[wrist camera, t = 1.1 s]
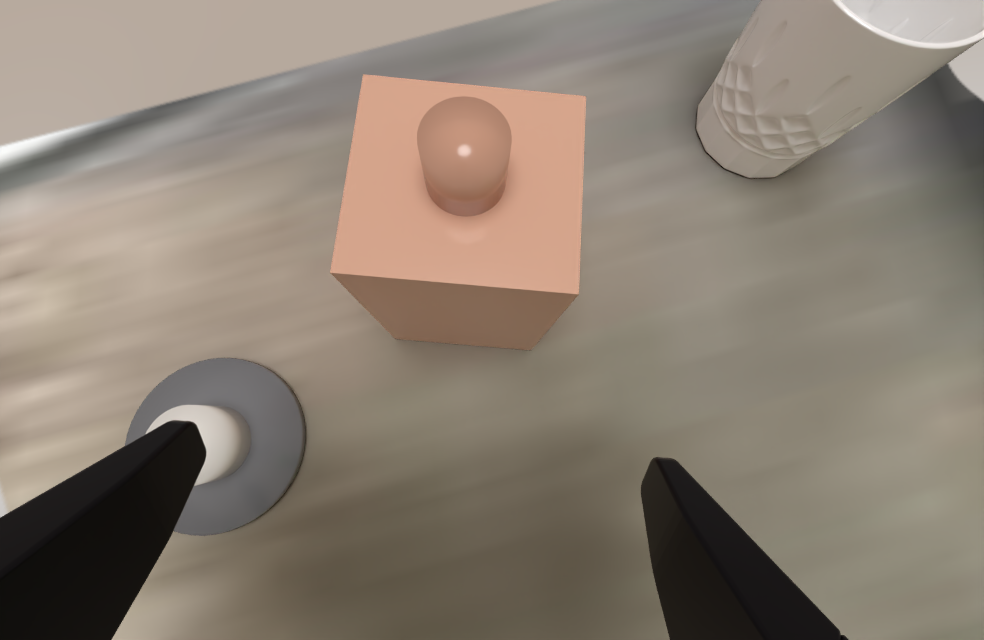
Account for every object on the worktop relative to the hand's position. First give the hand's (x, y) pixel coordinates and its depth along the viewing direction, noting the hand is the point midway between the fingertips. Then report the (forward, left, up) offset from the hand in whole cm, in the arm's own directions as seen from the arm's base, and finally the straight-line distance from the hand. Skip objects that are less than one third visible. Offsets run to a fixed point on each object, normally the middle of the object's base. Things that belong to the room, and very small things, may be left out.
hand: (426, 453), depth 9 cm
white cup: (+14, -20, -14) cm, 28 cm away
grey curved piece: (+1, +11, -13) cm, 17 cm away
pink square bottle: (+7, -2, -13) cm, 15 cm away
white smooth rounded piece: (+1, +11, -13) cm, 17 cm away
